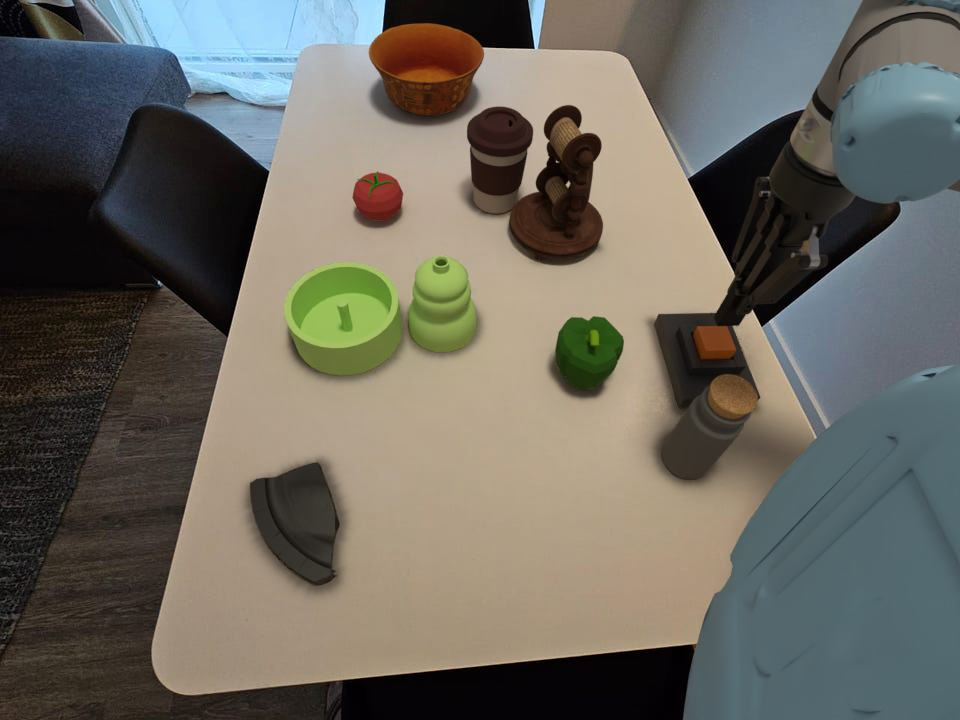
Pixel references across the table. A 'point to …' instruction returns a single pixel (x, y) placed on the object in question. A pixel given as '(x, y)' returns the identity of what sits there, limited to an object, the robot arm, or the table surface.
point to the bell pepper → (588, 351)
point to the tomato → (377, 196)
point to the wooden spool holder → (561, 193)
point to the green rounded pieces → (377, 314)
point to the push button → (695, 356)
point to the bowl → (426, 66)
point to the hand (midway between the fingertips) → (726, 321)
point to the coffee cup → (498, 157)
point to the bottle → (709, 426)
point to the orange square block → (714, 342)
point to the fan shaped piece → (298, 520)
